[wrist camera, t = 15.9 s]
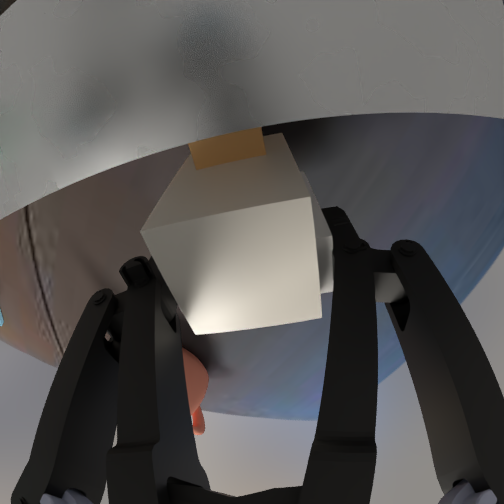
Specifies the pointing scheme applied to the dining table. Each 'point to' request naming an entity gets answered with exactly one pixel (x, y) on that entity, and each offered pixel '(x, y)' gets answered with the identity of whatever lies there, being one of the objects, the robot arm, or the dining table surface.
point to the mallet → (237, 235)
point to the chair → (1, 319)
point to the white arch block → (222, 74)
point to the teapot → (195, 388)
